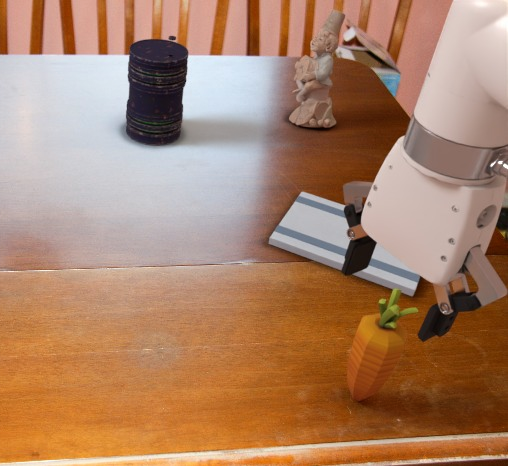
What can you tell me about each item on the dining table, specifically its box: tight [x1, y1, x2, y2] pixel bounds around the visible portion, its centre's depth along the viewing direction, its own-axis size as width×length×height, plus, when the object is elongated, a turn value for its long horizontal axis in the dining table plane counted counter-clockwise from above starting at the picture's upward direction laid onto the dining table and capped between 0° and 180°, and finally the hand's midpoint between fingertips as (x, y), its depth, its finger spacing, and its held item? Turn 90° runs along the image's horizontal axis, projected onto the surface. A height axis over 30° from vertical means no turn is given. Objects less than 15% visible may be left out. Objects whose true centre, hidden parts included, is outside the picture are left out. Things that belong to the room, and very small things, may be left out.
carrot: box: [346, 289, 420, 402], centre depth 66 cm, size 5×5×15 cm
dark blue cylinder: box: [125, 35, 189, 146], centre depth 110 cm, size 10×10×18 cm
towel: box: [268, 191, 421, 297], centre depth 92 cm, size 20×14×1 cm
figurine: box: [288, 9, 346, 128], centre depth 116 cm, size 9×8×20 cm
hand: (390, 301), depth 62 cm, fingers open, 9 cm apart
